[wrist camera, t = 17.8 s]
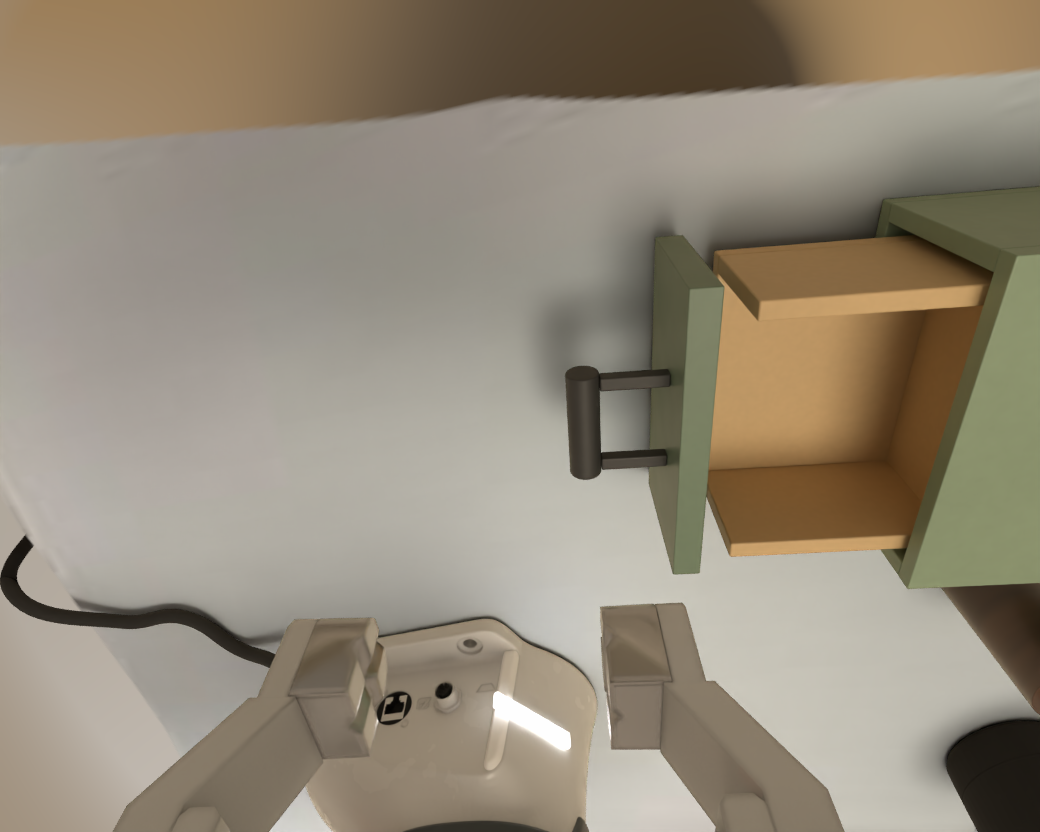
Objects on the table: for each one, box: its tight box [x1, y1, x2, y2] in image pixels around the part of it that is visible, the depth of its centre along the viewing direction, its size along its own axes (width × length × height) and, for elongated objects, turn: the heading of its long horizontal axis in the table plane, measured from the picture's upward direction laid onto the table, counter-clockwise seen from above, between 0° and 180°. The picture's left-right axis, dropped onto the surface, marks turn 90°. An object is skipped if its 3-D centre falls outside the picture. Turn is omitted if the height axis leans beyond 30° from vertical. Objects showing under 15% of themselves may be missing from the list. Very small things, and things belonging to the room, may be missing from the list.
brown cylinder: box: [941, 583, 1040, 714], centre depth 34 cm, size 5×5×9 cm
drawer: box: [565, 235, 994, 574], centre depth 27 cm, size 17×13×7 cm
